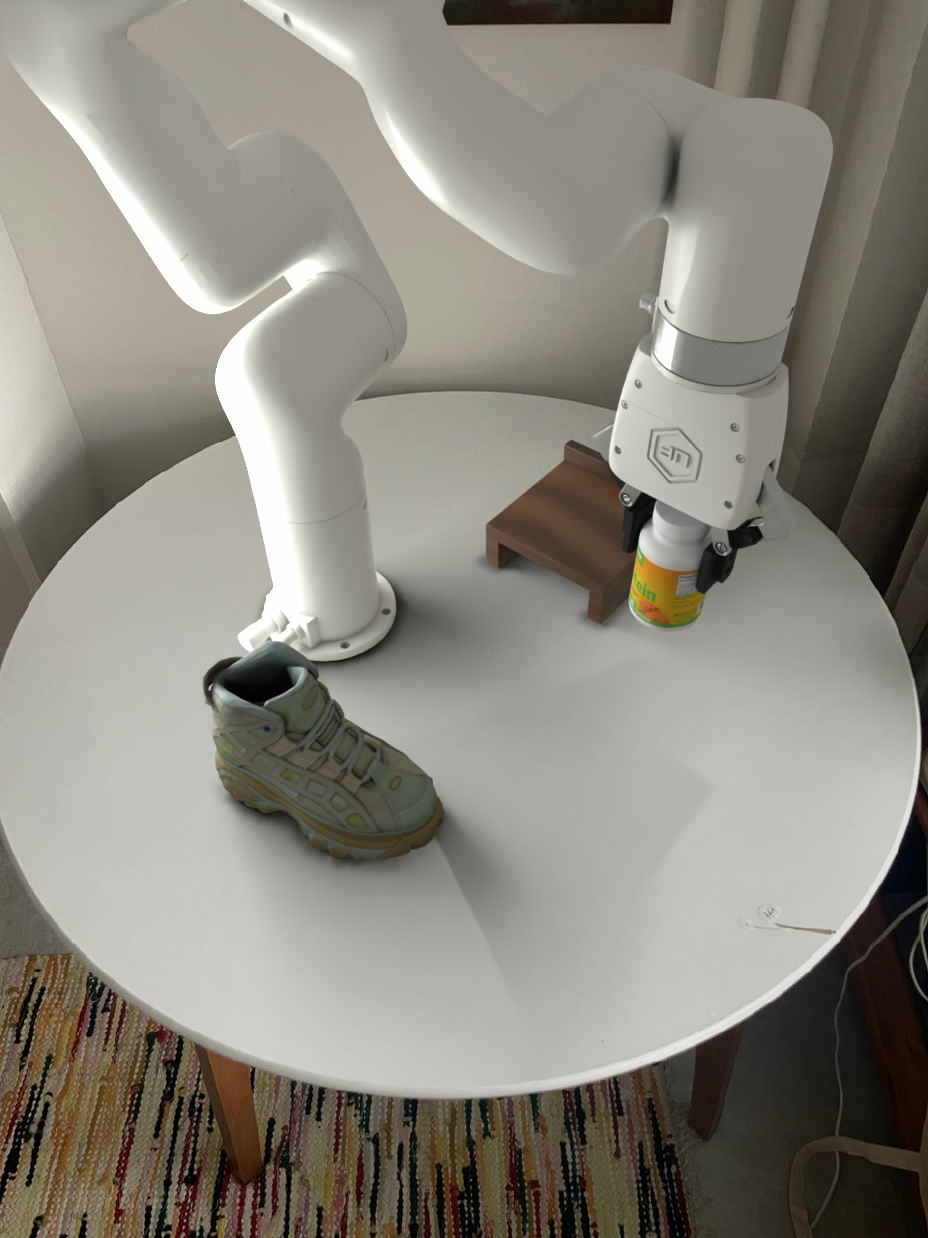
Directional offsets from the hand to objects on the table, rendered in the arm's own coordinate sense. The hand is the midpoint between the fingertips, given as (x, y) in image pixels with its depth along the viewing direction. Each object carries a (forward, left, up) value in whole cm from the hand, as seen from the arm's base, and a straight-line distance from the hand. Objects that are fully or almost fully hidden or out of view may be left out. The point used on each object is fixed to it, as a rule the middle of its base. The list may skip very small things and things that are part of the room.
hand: (674, 559), depth 73 cm
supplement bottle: (0, 0, -5) cm, 5 cm away
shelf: (+16, +17, -21) cm, 31 cm away
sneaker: (-21, +16, -21) cm, 34 cm away
